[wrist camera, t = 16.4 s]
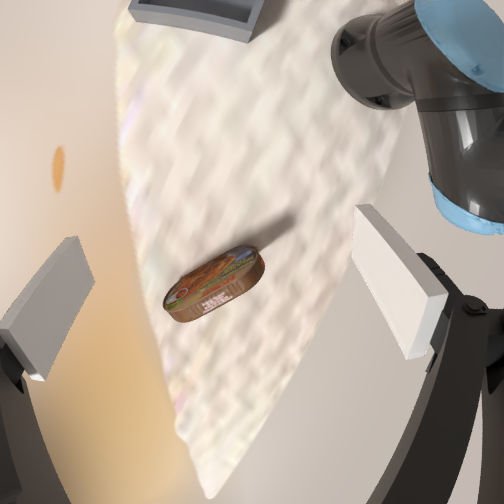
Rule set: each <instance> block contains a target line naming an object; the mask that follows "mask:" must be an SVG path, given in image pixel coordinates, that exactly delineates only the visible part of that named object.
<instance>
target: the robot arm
mask: <svg viewBox="0 0 504 504" xmlns="http://www.w3.org/2000/svg"><path fill="white" fill-rule="evenodd" d="M331 59H332V65H333V68H334V71H335V74H336V76H337V78H338V80H339V81H340V83H341V85H342V86H343V87H344V89H345V90H346V91H347V92H348V93H349V94H350V95H351V96H352V97H353V98H354V99H356V100H357V101H358V102H360V103H362V104H363V105H365V106H367V107H370V108H373V109H377V110H394V109H400V108H403V107H405V106H407V105H409V104H411V103H412V102H413V101H414V100H415V102H416V106H417V110H418V115H419V119H420V124H421V128H422V133H423V138H424V143H425V148H426V153H427V159H428V165H429V180H430V183H431V185H432V188H433V194H434V200H435V204H436V207H437V208H438V210H439V211H440V212H441V214H442V216H443V217H444V218H445V219H446V220H448V221H449V222H450V223H452V224H454V225H455V226H457V227H459V228H461V229H464V230H466V231H469V232H473V233H477V234H482V235H493V234H494V232H495V233H498V234H500V235H503V234H504V23H503V22H502V21H501V19H500V18H499V16H498V15H497V14H496V13H495V12H494V11H493V10H492V9H491V8H490V7H489V6H488V5H487V4H486V3H485V2H484V1H483V0H410V1H408V2H406V3H404V4H402V5H400V6H399V7H397V8H395V9H393V10H392V11H390V12H388V13H386V14H385V15H373V16H361V17H358V18H355V19H353V20H351V21H349V22H348V23H347V24H345V25H344V26H342V27H341V28H340V29H339V30H338V32H337V33H336V35H335V37H334V39H333V42H332V47H331ZM351 258H352V260H353V261H354V263H355V264H356V266H357V268H358V270H359V272H360V273H361V275H362V277H363V279H364V280H365V282H366V284H367V286H368V287H369V289H370V291H371V293H372V295H373V297H374V298H375V300H376V302H377V304H378V306H379V308H380V309H381V311H382V313H383V315H384V317H385V319H386V321H387V323H388V325H389V327H390V328H391V330H392V332H393V334H394V336H395V338H396V340H397V342H398V344H399V346H400V348H401V350H402V352H403V354H404V356H405V358H406V360H410V359H413V358H417V357H421V356H425V354H426V352H427V349H428V347H429V345H430V344H431V346H432V348H433V349H434V351H435V353H434V354H433V357H432V359H431V361H430V363H429V365H428V367H427V369H426V372H427V374H426V378H425V380H424V383H423V386H422V389H421V391H420V394H419V397H418V399H417V402H416V405H415V407H414V410H413V412H412V415H411V417H410V419H409V422H408V424H407V426H406V429H405V431H404V433H403V435H402V438H401V440H400V442H399V444H398V446H397V448H396V450H395V452H394V454H393V456H392V458H391V460H390V462H389V464H388V466H387V468H386V470H385V472H384V474H383V475H382V477H381V479H380V481H379V483H378V484H377V486H376V488H375V490H374V492H373V493H372V495H371V497H370V498H369V500H368V501H367V503H366V504H447V503H448V500H449V498H450V496H451V493H452V490H453V488H454V485H455V482H456V480H457V477H458V475H459V472H460V469H461V466H462V463H463V459H464V457H465V453H466V450H467V446H468V443H469V440H470V436H471V432H472V428H473V424H474V421H475V416H476V412H477V408H478V403H479V397H480V392H481V393H482V416H483V417H482V418H483V439H482V440H483V441H482V463H481V464H482V465H481V476H480V486H479V495H478V502H477V504H504V309H489V308H488V307H487V305H486V304H485V303H484V302H483V301H482V300H481V299H479V298H477V297H474V296H470V295H463V294H462V292H461V291H460V290H459V289H458V287H457V286H456V285H455V284H454V283H453V282H452V280H451V279H450V278H449V277H448V276H447V275H445V272H444V271H443V270H442V269H441V268H440V266H439V265H438V264H437V263H436V262H435V261H434V260H433V259H432V258H430V257H429V256H427V255H426V254H424V253H415V252H414V251H413V249H412V248H411V247H410V246H409V245H408V244H407V243H406V242H405V240H404V239H403V238H402V237H401V236H400V235H399V234H398V233H397V232H396V231H395V230H394V229H393V227H392V226H391V225H390V224H389V223H388V222H387V221H386V220H385V219H384V218H383V217H382V216H381V215H380V214H379V212H378V211H376V209H375V208H374V207H373V206H372V205H371V204H364V205H355V215H354V230H353V243H352V255H351ZM94 283H95V280H94V278H93V275H92V273H91V271H90V268H89V265H88V262H87V260H86V257H85V254H84V252H83V249H82V246H81V243H80V241H79V238H78V236H73V237H67V238H65V239H64V240H63V242H62V243H61V244H60V245H59V246H58V247H57V248H56V250H55V251H54V252H53V253H52V254H51V256H50V257H49V258H48V259H47V260H46V262H45V263H44V264H43V265H42V266H41V268H40V269H39V270H38V271H37V273H36V274H35V275H34V276H33V278H32V279H31V280H30V281H29V283H28V284H27V285H26V287H25V288H24V289H23V291H22V292H21V293H20V295H19V296H18V298H17V299H16V300H15V301H14V302H13V304H12V305H11V307H10V308H9V309H8V311H7V312H6V314H5V315H4V317H3V318H2V320H1V321H0V504H71V502H70V501H69V499H68V497H67V494H66V493H65V490H64V488H63V486H62V484H61V482H60V480H59V478H58V475H57V473H56V471H55V468H54V466H53V464H52V461H51V459H50V456H49V454H48V451H47V449H46V446H45V443H44V441H43V438H42V435H41V432H40V429H39V426H38V423H37V419H36V416H35V413H34V410H33V406H32V403H31V399H30V396H29V392H28V388H27V384H26V381H25V379H24V378H23V377H22V373H23V371H24V370H25V371H26V372H27V373H28V375H29V376H30V377H31V379H34V380H40V381H45V380H46V378H47V376H48V374H49V372H50V369H51V367H52V365H53V363H54V361H55V358H56V356H57V354H58V352H59V350H60V348H61V346H62V344H63V342H64V340H65V338H66V336H67V334H68V331H69V330H70V327H71V326H72V324H73V322H74V320H75V318H76V316H77V314H78V312H79V310H80V309H81V307H82V305H83V303H84V301H85V299H86V298H87V296H88V294H89V292H90V290H91V289H92V287H93V285H94Z"/></svg>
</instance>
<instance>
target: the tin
mask: <svg viewBox="0 0 504 504" xmlns="http://www.w3.org/2000/svg"><path fill="white" fill-rule="evenodd" d="M264 270H265V264H264V261H263V259H262V257H261V256H260V254H259V251H258V249H257V248H256V247H255V246H252V245H244V246H240V247H236V248H234V249H232V250H230V251H228V252H226V253H224V254H223V255H221V256H219V257H217V258H216V259H214V260H212V261H210V262H209V263H207V264H205V265H204V266H202V267H200V268H198V269H197V270H195V271H193V272H191V273H190V274H188V275H186V276H185V277H183V278H182V279H180V280H179V281H178V282H177V283H176V284H175V285H174V286H173V287H172V288H171V289H170V290H169V291H168V293H167V294H166V296H165V298H164V301H163V308H164V309H165V310H166V311H167V312H168V313H169V314H170V315H171V316H172V318H173V319H174V320H176V321H177V322H181V323H185V322H190V321H193V320H196V319H198V318H200V317H201V316H203V315H205V314H207V313H209V312H211V311H213V310H215V309H216V308H218V307H220V306H222V305H224V304H226V303H227V302H229V301H231V300H233V299H235V298H236V297H238V296H240V295H242V294H244V293H245V292H247V291H248V290H250V289H251V288H252V287H253V286H254V285H256V284H257V282H258V281H259V280H260V279H261V277H262V275H263V273H264Z"/></svg>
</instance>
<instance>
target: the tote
mask: <svg viewBox="0 0 504 504" xmlns="http://www.w3.org/2000/svg"><path fill="white" fill-rule="evenodd" d="M263 3H264V0H132V1H131V3H130V5H129V7H128V10H129V12H130V13H131V15H132V16H133V18H134V19H135V21H136V22H143V23H151V24H158V25H165V26H171V27H177V28H183V29H189V30H194V31H199V32H203V33H208V34H213V35H217V36H221V37H225V38H229V39H233V40H237V41H241V42H244V43H248V41H249V39H250V37H251V34H252V32H253V29H254V27H255V24H256V21H257V19H258V16H259V13H260V11H261V8H262V5H263Z"/></svg>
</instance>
